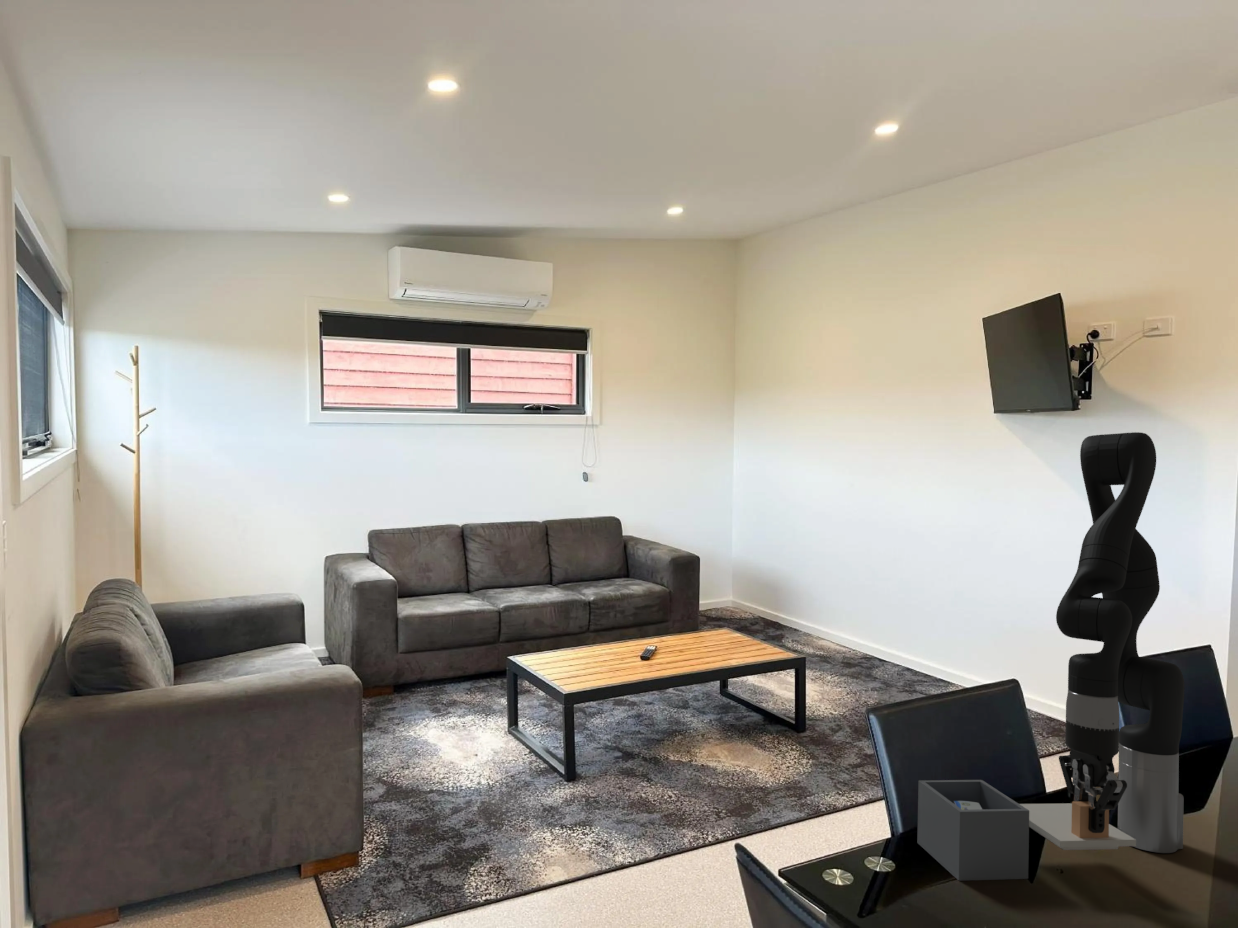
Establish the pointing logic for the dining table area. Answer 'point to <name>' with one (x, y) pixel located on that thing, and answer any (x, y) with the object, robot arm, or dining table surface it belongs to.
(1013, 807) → the tub
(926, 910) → the dining table surface
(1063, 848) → the lid
